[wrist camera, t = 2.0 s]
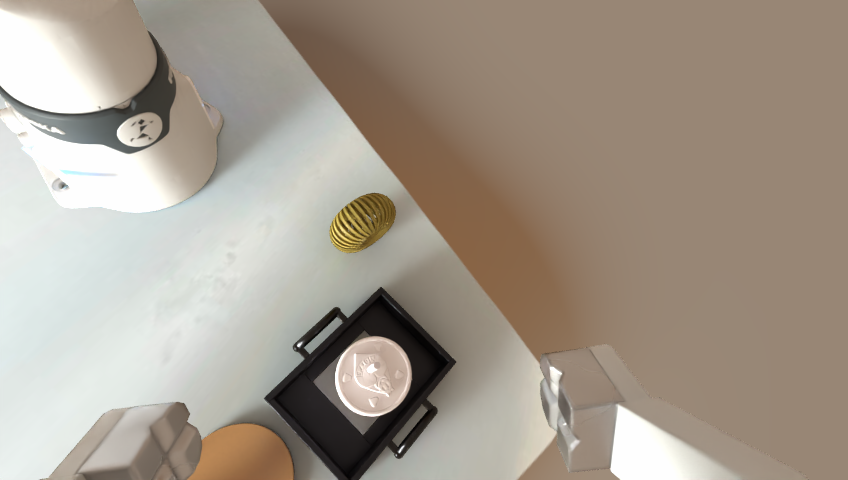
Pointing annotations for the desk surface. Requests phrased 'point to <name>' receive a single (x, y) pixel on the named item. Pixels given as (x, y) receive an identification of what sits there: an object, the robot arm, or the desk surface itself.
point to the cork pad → (244, 455)
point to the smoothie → (373, 376)
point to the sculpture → (362, 222)
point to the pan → (324, 421)
